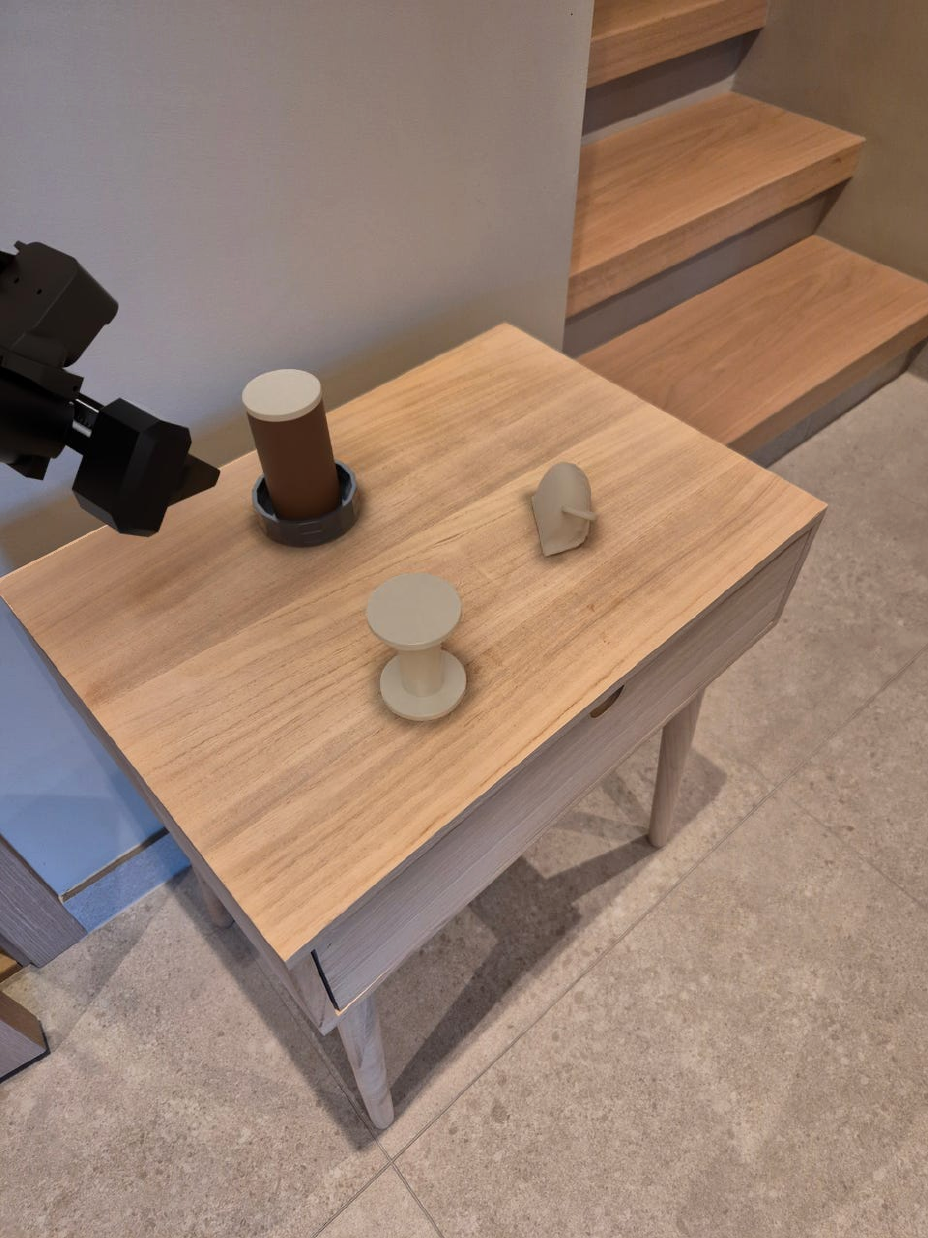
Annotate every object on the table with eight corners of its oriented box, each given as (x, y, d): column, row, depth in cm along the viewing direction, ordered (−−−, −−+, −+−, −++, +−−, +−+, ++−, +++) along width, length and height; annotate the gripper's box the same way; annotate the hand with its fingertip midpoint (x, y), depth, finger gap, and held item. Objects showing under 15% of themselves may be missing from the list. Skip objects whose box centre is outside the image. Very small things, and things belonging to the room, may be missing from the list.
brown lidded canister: (338, 531, 66) (314, 414, 58) (267, 531, 66) (233, 415, 58) (347, 484, 70) (326, 368, 61) (280, 484, 70) (250, 368, 62)
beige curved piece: (580, 493, 69) (585, 440, 65) (598, 567, 63) (605, 513, 59) (531, 497, 69) (532, 444, 65) (544, 571, 63) (547, 518, 59)
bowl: (316, 561, 65) (311, 538, 63) (238, 524, 68) (230, 500, 66) (380, 499, 69) (376, 476, 67) (303, 467, 72) (298, 443, 70)
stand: (435, 735, 54) (426, 659, 48) (363, 697, 56) (346, 619, 50) (482, 673, 57) (480, 594, 51) (413, 639, 59) (402, 559, 53)
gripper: (89, 275, 35) (320, 379, 49) (-132, 173, 43) (121, 288, 57) (7, 521, 37) (250, 554, 51) (-190, 381, 45) (68, 443, 59)
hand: (169, 450), depth 54 cm, fingers open, 9 cm apart
